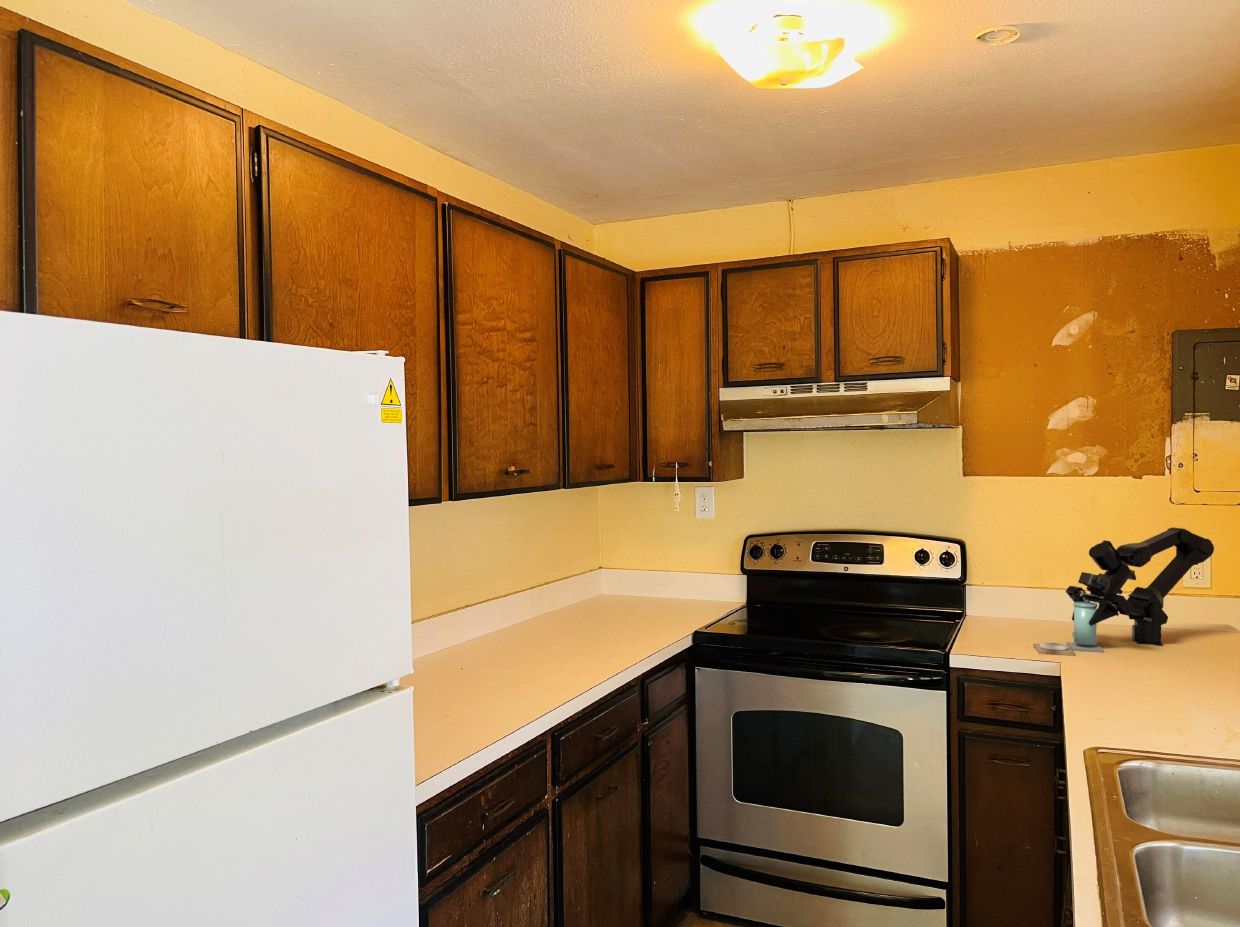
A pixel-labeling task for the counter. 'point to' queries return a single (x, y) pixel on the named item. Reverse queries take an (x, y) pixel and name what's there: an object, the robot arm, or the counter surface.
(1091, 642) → the teal cylindrical jar
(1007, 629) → the counter surface
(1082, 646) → the mat
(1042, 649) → the brown square coaster
